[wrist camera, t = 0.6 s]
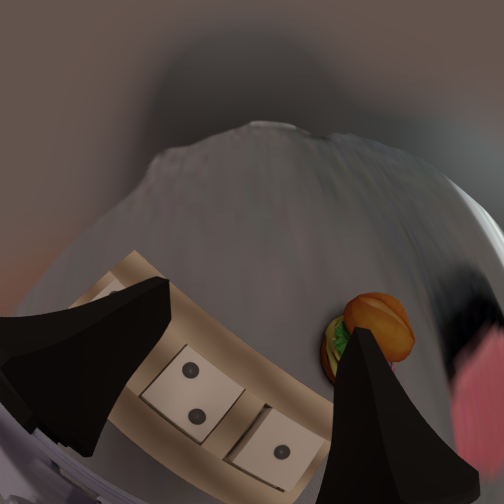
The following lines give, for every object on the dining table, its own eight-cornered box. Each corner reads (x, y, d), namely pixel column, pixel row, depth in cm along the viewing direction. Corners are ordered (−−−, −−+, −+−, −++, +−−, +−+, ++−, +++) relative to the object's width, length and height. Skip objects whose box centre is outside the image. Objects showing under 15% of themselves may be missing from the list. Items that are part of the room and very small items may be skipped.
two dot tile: (198, 439, 19) (201, 442, 17) (144, 397, 20) (141, 395, 18) (238, 390, 23) (245, 388, 21) (186, 351, 24) (187, 344, 21)
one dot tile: (279, 486, 18) (290, 492, 16) (226, 457, 19) (232, 462, 17) (312, 438, 21) (326, 439, 19) (263, 408, 22) (273, 407, 20)
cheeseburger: (304, 391, 26) (359, 347, 20) (312, 317, 34) (352, 264, 28) (376, 406, 26) (437, 368, 20) (373, 338, 35) (418, 293, 28)
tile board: (265, 516, 17) (275, 525, 15) (50, 345, 21) (39, 337, 19) (334, 415, 25) (349, 414, 23) (137, 264, 29) (134, 249, 27)
